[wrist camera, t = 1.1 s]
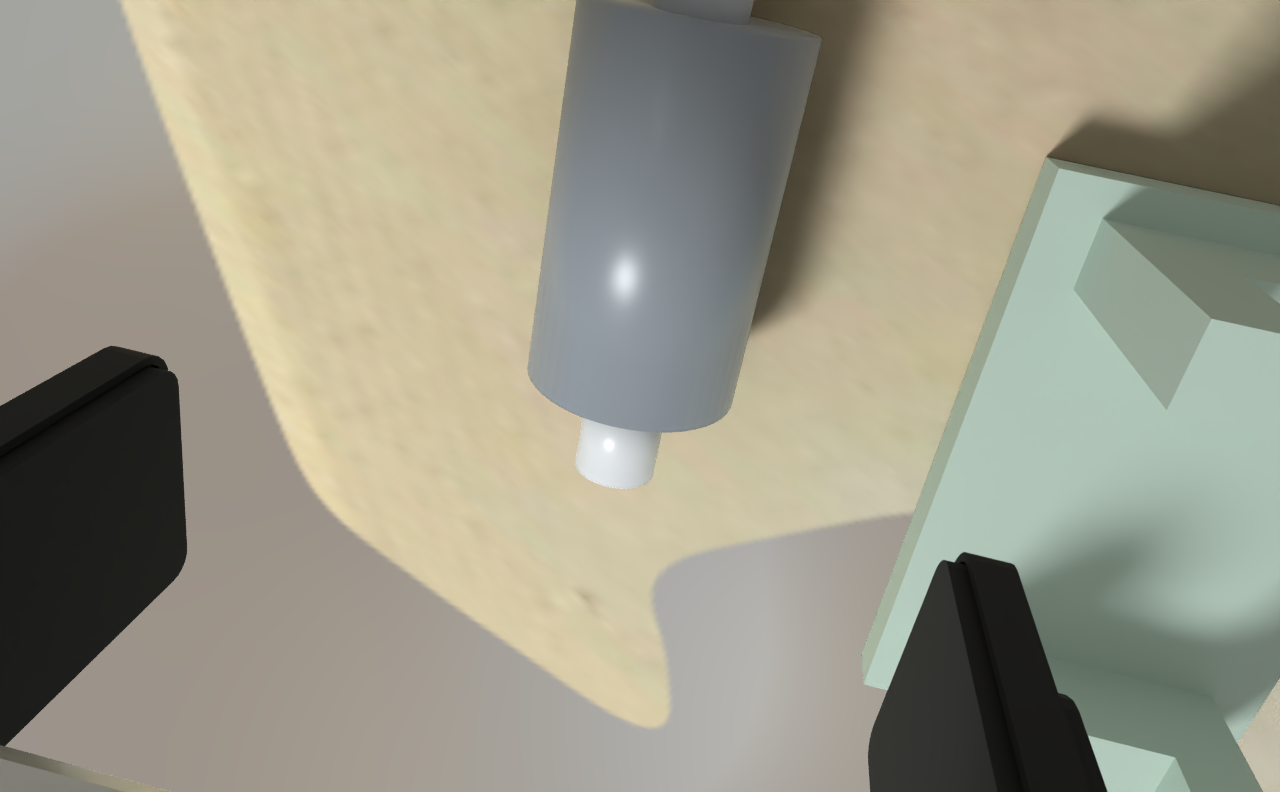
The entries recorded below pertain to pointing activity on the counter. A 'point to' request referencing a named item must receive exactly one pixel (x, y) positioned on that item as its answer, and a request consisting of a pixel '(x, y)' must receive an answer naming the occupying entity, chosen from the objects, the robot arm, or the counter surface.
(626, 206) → the roll
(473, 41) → the counter surface
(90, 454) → the robot arm
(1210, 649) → the cradle
